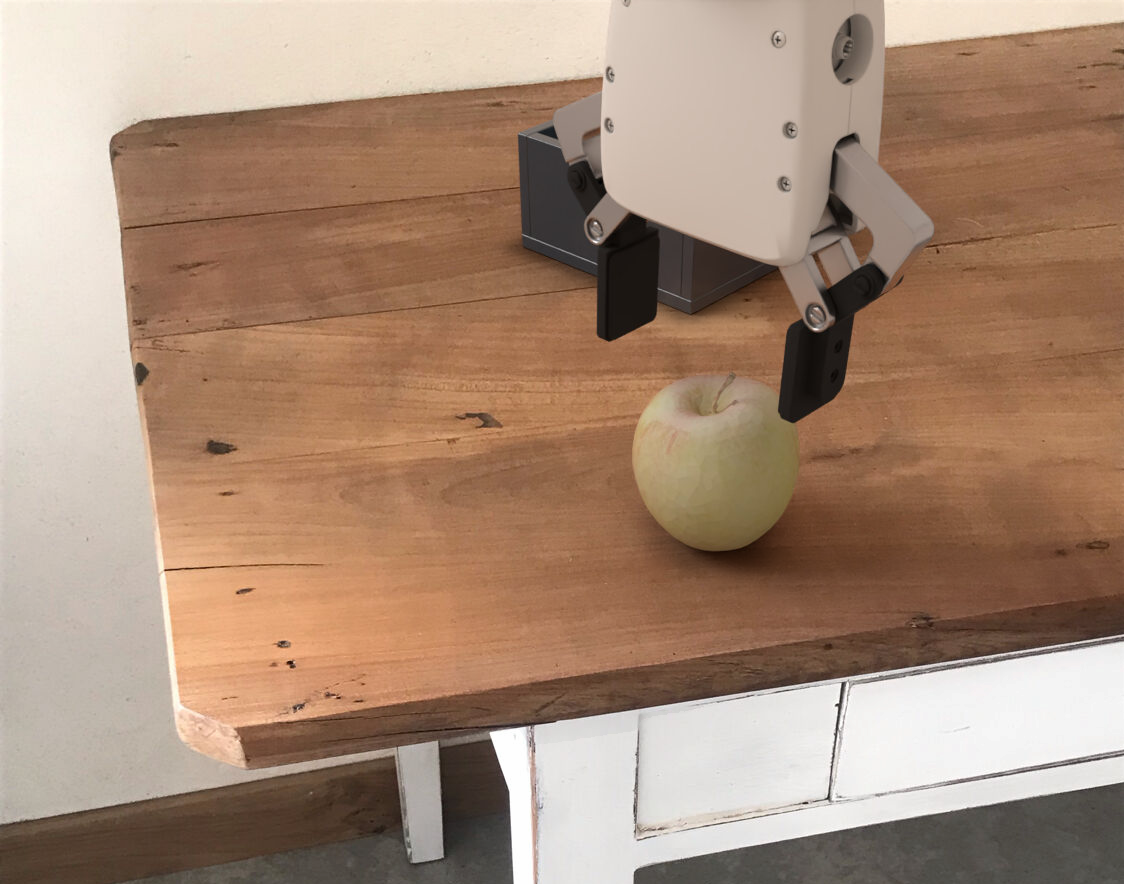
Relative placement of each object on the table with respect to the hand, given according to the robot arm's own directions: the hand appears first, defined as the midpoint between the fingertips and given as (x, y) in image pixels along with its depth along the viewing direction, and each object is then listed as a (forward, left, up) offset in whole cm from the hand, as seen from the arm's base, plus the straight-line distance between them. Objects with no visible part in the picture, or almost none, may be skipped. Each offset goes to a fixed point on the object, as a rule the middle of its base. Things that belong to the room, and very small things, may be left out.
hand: (713, 367), depth 57 cm
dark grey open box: (+21, -22, -8) cm, 32 cm away
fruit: (0, 0, -8) cm, 8 cm away
